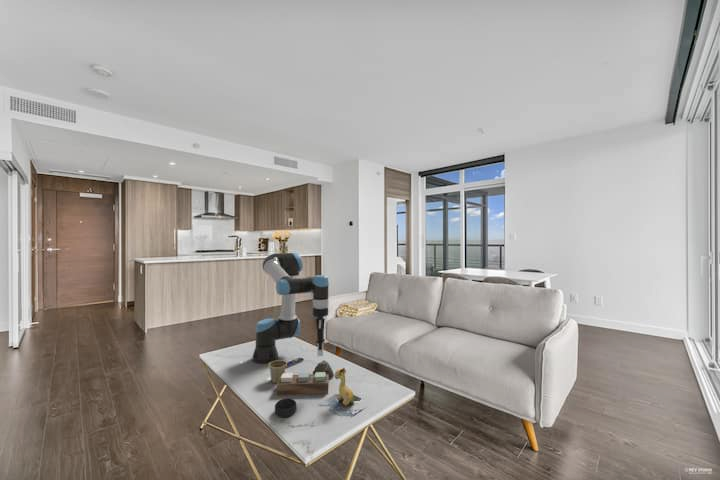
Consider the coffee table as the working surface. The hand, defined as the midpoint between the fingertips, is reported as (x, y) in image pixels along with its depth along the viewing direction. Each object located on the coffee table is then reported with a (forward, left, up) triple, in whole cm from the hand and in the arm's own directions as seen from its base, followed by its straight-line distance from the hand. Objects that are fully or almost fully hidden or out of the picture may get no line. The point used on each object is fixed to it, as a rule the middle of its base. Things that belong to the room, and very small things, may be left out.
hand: (320, 355), depth 151 cm
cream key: (0, -16, -12) cm, 20 cm away
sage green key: (0, 0, -12) cm, 12 cm away
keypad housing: (0, -8, -16) cm, 18 cm away
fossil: (-13, 0, -17) cm, 21 cm away
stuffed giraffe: (+15, +12, -17) cm, 25 cm away
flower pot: (-11, -23, -17) cm, 30 cm away
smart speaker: (+19, -14, -17) cm, 29 cm away
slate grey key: (0, -8, -12) cm, 14 cm away
